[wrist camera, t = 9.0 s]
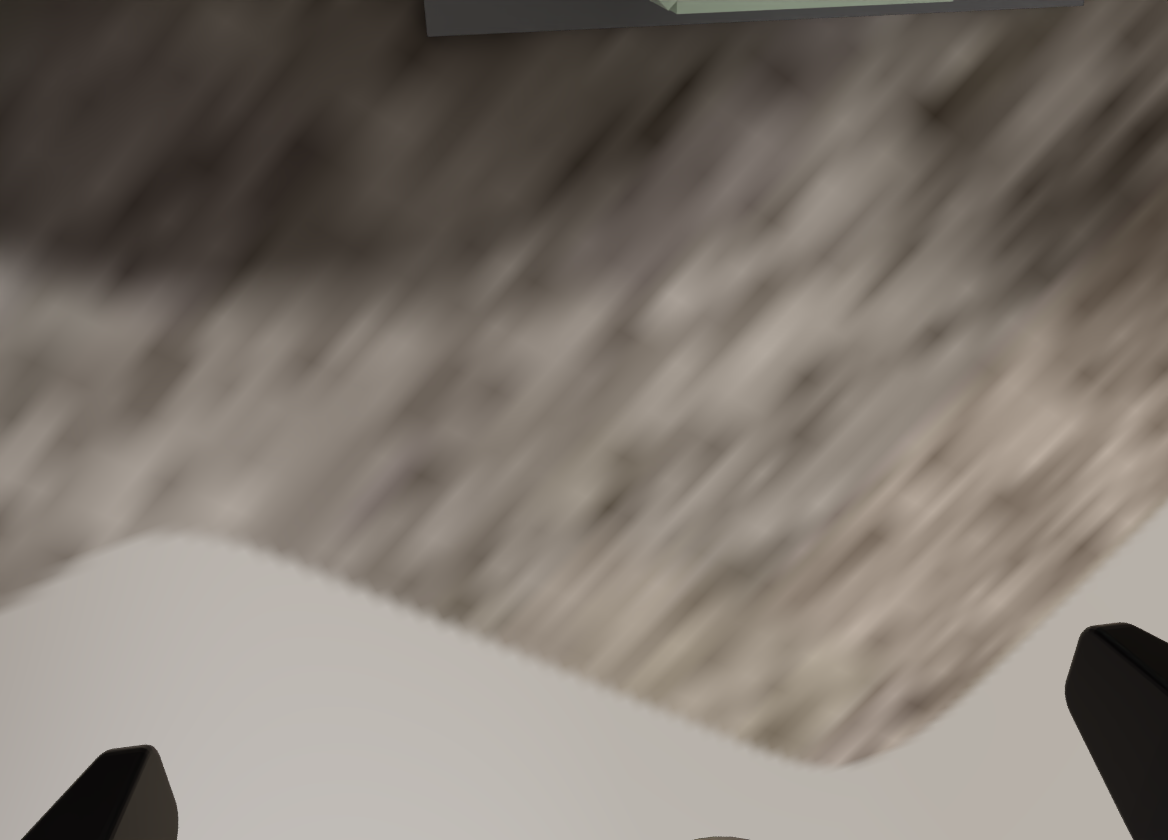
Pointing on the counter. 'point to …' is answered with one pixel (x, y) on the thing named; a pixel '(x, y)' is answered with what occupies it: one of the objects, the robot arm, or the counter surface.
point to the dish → (767, 4)
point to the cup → (721, 838)
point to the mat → (655, 14)
